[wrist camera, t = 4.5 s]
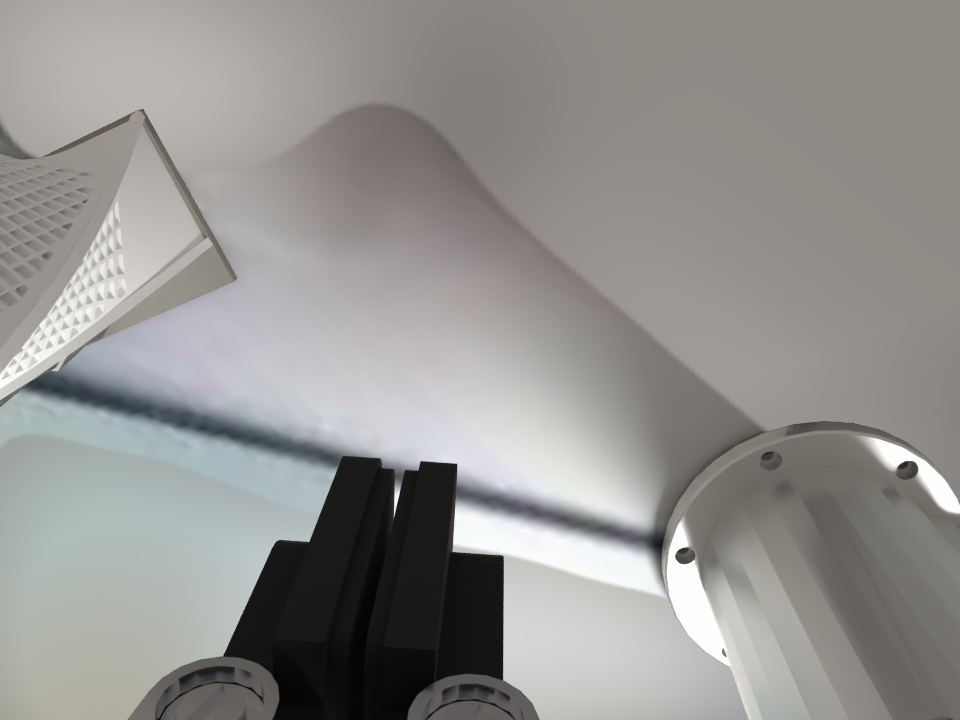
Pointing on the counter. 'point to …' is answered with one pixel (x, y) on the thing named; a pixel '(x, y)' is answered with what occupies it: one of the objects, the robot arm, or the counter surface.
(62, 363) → the twisted tower model
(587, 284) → the counter surface
